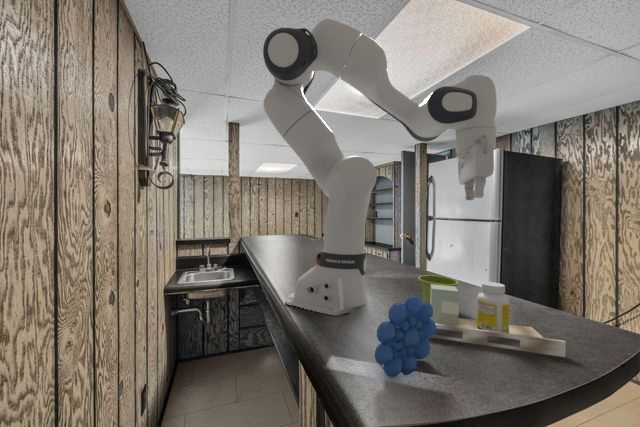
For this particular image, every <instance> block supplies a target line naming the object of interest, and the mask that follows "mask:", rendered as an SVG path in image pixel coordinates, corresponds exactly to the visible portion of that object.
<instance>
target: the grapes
mask: <svg viewBox="0 0 640 427" xmlns="http://www.w3.org/2000/svg"><path fill="white" fill-rule="evenodd" d="M432 316H433V308H432V306H431V304H430V303H428V302H423V300H421V298H420V297H419V296H418V295H409V296H408V297H407V298H406V299H405V300H404V303H403V302H395V303H394V304H392V305H391V306H390V307H389V310H388V318H389V321H388V320H385V321H383V322H381V323H380V324H379V325H378V327H377V329H376V338H377V340H378V342H380V343H379V344H378V345H377V346H376V347H375V350H374V358H375V359H374V360H375V361H376V363H377V364H379V365H380V366H383V371H384V374H385V375H386V376H387V377H388V378H395V377H397V376H398V375H400V374H402V375H406V376H407V375H411V374H413V373H414V372H415V370H417V367H418V360H423V359H426V358H427V357H428V356H429V355H430V353H431V347H430V346H431V344H430V343H429V341H428V339H432V337H433V336H434V335H435V333H436V324H435V322H434V321H433V320H432V319H430V318H431V317H432Z"/></svg>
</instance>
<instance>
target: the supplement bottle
mask: <svg viewBox="0 0 640 427" xmlns="http://www.w3.org/2000/svg"><path fill="white" fill-rule="evenodd" d="M481 290H482V292H480V293H478V294H477V299H476V300H477V302H476V320H477V329H481V330H489V331H496V332H504V333H509V324H510V300H509V298H508V297H507V296H505V295H504V294H506V285H505V284H503V283H499V282H495V281H483V282H481Z"/></svg>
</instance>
